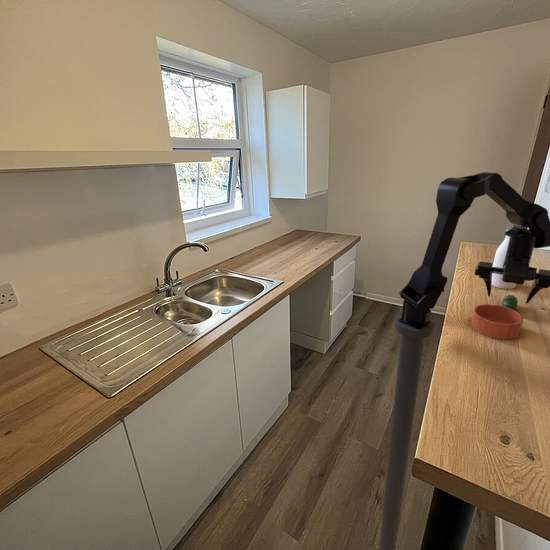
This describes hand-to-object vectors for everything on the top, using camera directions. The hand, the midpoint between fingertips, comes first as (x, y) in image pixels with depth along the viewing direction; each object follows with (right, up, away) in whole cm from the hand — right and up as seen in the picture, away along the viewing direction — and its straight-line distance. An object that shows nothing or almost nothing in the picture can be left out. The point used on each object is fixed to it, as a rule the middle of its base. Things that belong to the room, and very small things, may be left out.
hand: (507, 299), depth 91 cm
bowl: (-10, -7, -8) cm, 14 cm away
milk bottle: (+10, +4, +15) cm, 18 cm away
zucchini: (0, -3, +1) cm, 3 cm away
